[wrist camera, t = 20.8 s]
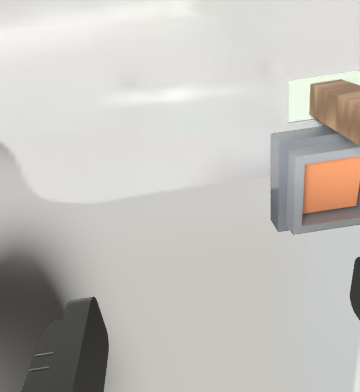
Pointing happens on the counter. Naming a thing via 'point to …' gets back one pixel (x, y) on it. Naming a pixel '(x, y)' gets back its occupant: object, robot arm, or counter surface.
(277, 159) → the grey open square box
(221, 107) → the counter surface
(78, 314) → the robot arm
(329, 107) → the walnut block
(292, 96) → the sage mat
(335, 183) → the button
